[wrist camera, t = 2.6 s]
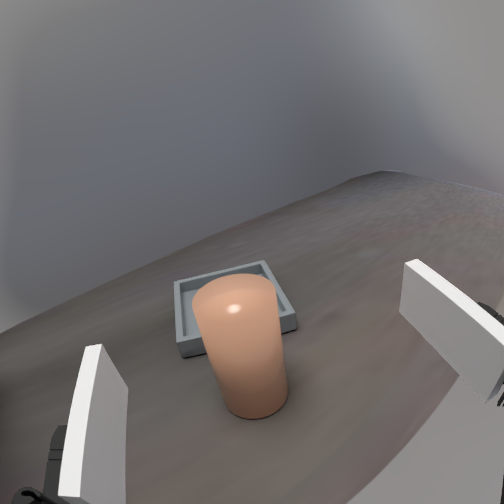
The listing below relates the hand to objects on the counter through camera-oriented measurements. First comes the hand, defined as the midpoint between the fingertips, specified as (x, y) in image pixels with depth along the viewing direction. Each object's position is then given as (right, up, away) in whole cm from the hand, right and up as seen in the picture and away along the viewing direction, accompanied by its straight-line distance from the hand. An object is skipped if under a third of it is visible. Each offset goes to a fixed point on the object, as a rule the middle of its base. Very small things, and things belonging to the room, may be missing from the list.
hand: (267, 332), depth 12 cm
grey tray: (-3, -5, +30) cm, 30 cm away
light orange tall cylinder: (0, -11, +17) cm, 20 cm away
